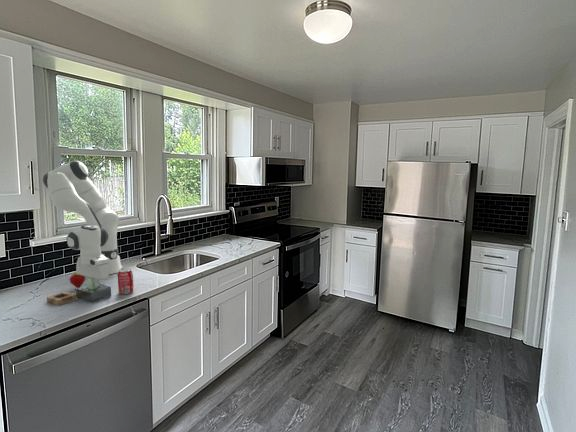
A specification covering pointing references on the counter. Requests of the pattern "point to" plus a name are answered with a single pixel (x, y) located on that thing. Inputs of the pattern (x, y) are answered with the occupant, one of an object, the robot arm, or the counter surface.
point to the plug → (91, 283)
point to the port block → (93, 293)
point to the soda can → (125, 281)
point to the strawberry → (77, 280)
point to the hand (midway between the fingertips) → (92, 285)
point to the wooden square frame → (61, 298)
